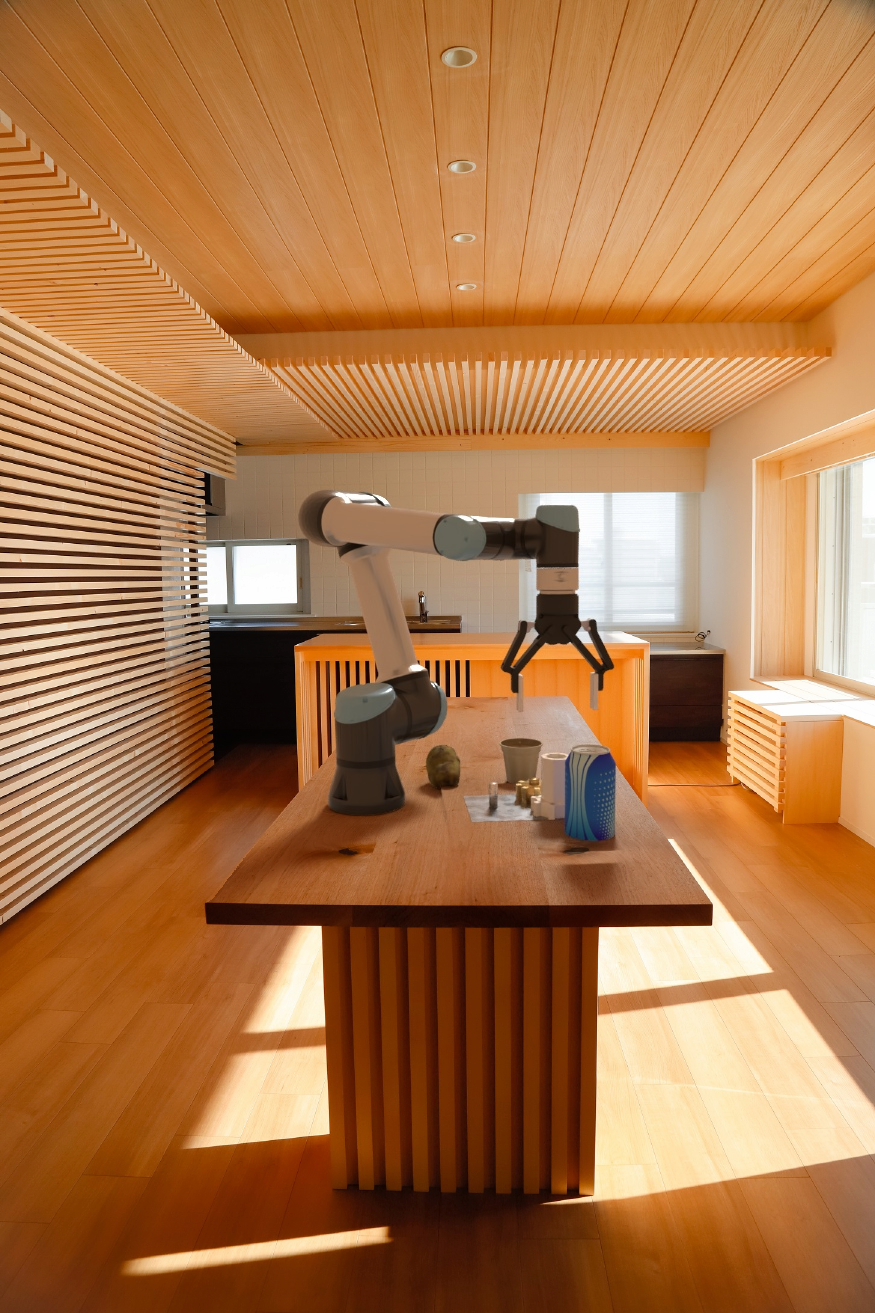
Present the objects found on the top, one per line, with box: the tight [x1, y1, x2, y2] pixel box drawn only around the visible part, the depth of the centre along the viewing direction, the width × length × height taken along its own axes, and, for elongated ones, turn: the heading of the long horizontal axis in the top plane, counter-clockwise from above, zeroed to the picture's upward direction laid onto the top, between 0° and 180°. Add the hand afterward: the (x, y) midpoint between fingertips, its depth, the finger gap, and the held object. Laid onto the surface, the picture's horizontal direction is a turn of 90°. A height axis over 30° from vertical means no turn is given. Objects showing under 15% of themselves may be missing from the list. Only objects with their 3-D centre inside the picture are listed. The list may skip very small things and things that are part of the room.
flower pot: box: [498, 737, 544, 785], centre depth 174 cm, size 9×9×9 cm
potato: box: [425, 744, 462, 790], centre depth 172 cm, size 8×13×8 cm, turn 171°
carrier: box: [462, 777, 565, 823], centre depth 151 cm, size 22×16×6 cm
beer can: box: [564, 743, 617, 842], centre depth 136 cm, size 8×8×16 cm
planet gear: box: [531, 752, 570, 821], centre depth 147 cm, size 9×9×10 cm
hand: (557, 710), depth 146 cm, fingers open, 13 cm apart
